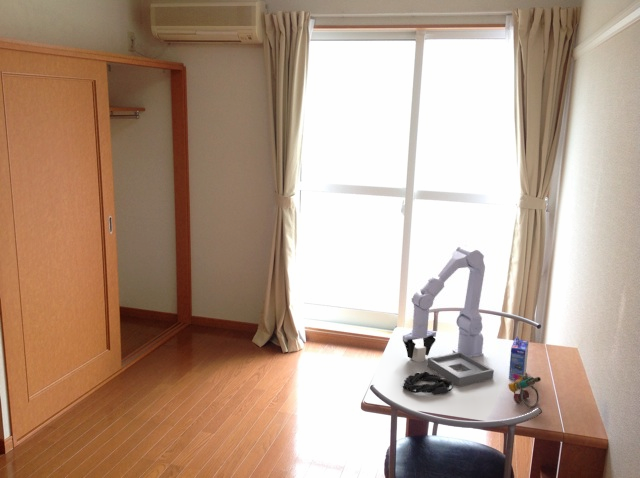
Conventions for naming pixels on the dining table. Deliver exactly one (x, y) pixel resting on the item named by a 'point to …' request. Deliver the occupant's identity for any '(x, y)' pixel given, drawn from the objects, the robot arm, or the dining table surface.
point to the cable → (427, 388)
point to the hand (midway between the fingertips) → (418, 356)
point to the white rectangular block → (419, 353)
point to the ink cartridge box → (518, 359)
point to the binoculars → (524, 393)
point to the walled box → (453, 361)
